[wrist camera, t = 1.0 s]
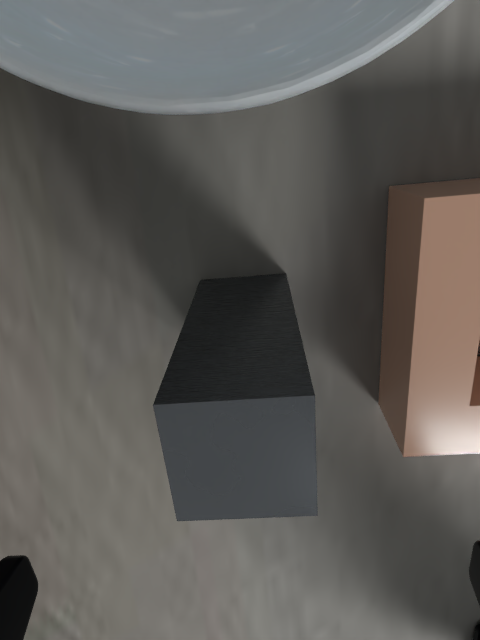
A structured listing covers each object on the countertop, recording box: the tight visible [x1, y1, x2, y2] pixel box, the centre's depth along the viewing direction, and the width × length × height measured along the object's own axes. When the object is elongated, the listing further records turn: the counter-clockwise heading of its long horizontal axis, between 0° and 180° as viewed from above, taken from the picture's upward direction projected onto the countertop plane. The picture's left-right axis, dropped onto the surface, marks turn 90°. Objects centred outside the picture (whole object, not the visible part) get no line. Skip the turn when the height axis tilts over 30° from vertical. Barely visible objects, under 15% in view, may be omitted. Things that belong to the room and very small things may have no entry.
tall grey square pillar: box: [153, 274, 318, 521], centre depth 16 cm, size 4×4×10 cm
